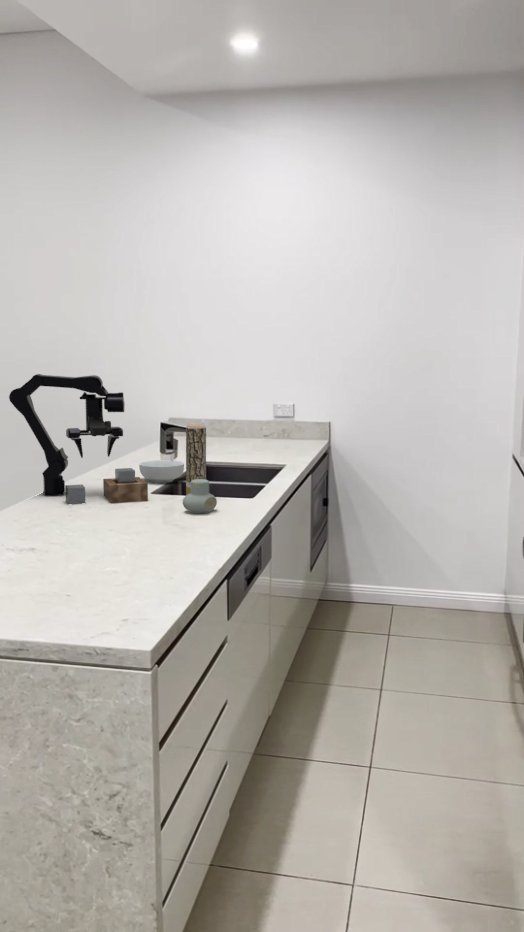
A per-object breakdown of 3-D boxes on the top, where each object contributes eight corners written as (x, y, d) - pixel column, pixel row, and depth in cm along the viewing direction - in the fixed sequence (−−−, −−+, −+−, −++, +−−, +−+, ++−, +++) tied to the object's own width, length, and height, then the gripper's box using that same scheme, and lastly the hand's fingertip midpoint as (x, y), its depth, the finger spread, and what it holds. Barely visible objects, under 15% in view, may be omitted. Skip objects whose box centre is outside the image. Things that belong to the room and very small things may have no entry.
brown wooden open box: (110, 503, 268) (110, 485, 266) (103, 495, 279) (103, 478, 278) (147, 500, 272) (147, 483, 271) (139, 493, 284) (139, 476, 283)
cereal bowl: (188, 477, 315) (188, 460, 314) (179, 486, 299) (179, 467, 297) (145, 476, 317) (145, 458, 315) (134, 484, 300) (134, 465, 299)
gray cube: (68, 504, 265) (67, 488, 264) (65, 501, 270) (65, 485, 269) (85, 503, 267) (85, 487, 266) (82, 500, 272) (82, 484, 271)
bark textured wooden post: (202, 500, 274) (203, 427, 270) (183, 499, 275) (183, 426, 271) (208, 496, 280) (208, 425, 276) (189, 495, 282) (189, 424, 277)
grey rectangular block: (118, 500, 272) (118, 471, 270) (115, 497, 277) (115, 468, 275) (135, 499, 274) (134, 470, 272) (131, 496, 279) (131, 467, 277)
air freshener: (199, 506, 264) (199, 476, 263) (220, 510, 260) (220, 479, 258) (179, 513, 255) (178, 481, 253) (200, 516, 251) (200, 484, 249)
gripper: (70, 415, 267) (71, 461, 270) (126, 413, 274) (126, 459, 277) (65, 412, 277) (66, 457, 280) (119, 410, 284) (120, 454, 287)
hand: (95, 457), depth 280 cm, fingers open, 9 cm apart
